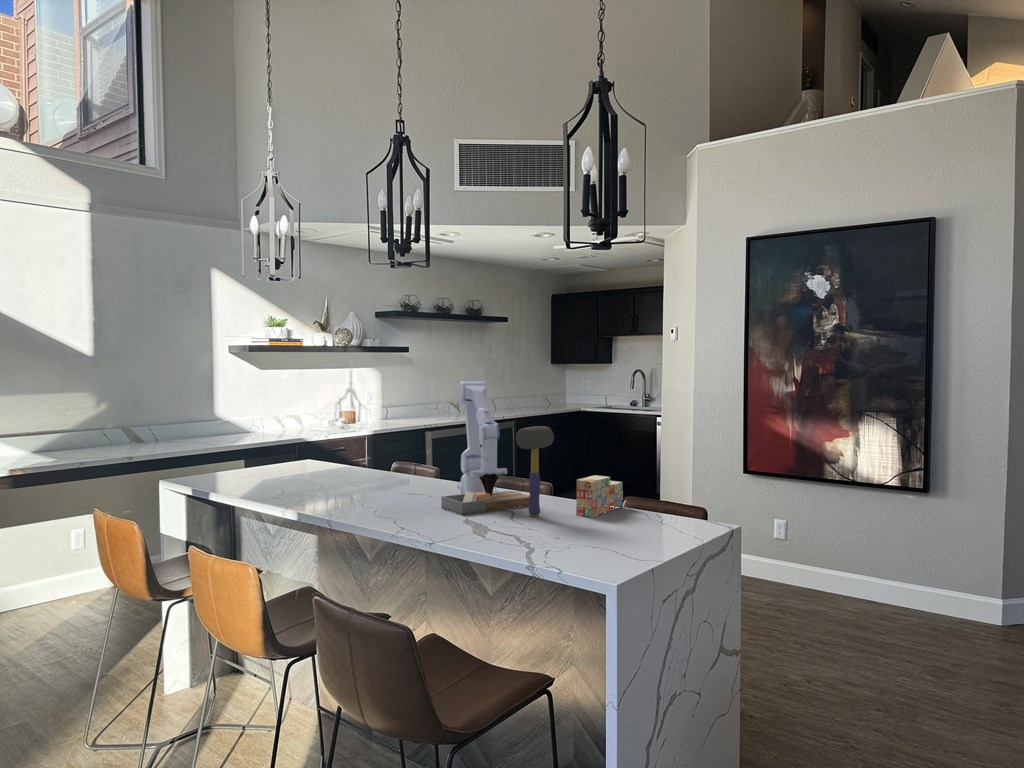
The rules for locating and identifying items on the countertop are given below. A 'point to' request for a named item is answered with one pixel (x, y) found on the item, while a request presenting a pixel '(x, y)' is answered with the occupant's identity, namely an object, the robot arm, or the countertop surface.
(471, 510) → the bin
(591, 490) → the stack of blocks
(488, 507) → the wooden serving tray
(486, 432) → the robot arm
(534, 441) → the rubber mallet
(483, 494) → the tile back
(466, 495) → the tile front
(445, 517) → the countertop surface
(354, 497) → the countertop surface
